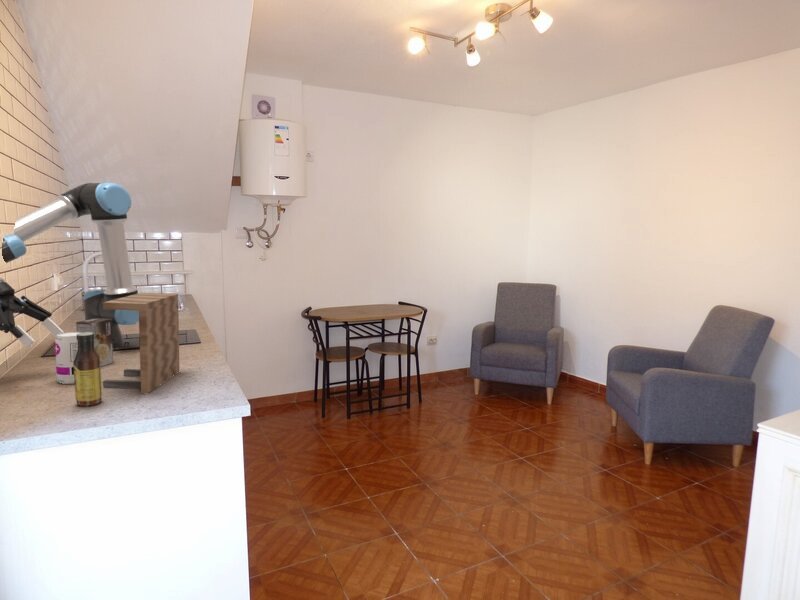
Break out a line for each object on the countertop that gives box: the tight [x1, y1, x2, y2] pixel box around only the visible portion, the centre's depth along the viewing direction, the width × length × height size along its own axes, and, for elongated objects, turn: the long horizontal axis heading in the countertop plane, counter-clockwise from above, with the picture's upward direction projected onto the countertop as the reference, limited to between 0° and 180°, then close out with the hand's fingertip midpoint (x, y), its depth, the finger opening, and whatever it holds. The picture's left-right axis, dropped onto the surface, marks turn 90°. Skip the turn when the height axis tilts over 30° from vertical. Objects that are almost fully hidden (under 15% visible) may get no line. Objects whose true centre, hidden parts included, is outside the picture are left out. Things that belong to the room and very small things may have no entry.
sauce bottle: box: [73, 332, 103, 407], centre depth 137 cm, size 7×6×20 cm
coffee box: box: [75, 318, 114, 368], centre depth 175 cm, size 9×6×16 cm
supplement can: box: [54, 331, 82, 385], centre depth 156 cm, size 8×8×15 cm
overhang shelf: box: [102, 292, 181, 394], centre depth 157 cm, size 24×16×27 cm, turn 3°
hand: (46, 339), depth 154 cm, fingers open, 13 cm apart
